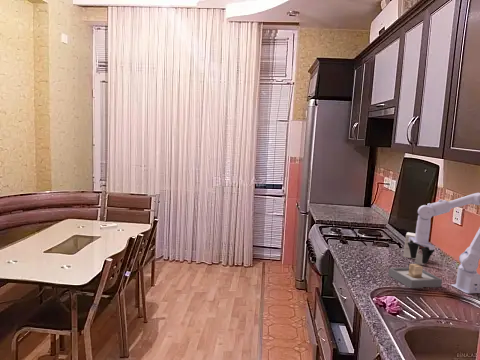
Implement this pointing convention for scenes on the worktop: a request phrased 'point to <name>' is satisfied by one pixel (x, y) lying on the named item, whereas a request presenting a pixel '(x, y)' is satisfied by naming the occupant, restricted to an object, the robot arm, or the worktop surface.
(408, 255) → the supplement box
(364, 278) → the worktop surface
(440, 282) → the hole box
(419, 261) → the translucent grey slab
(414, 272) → the peg
